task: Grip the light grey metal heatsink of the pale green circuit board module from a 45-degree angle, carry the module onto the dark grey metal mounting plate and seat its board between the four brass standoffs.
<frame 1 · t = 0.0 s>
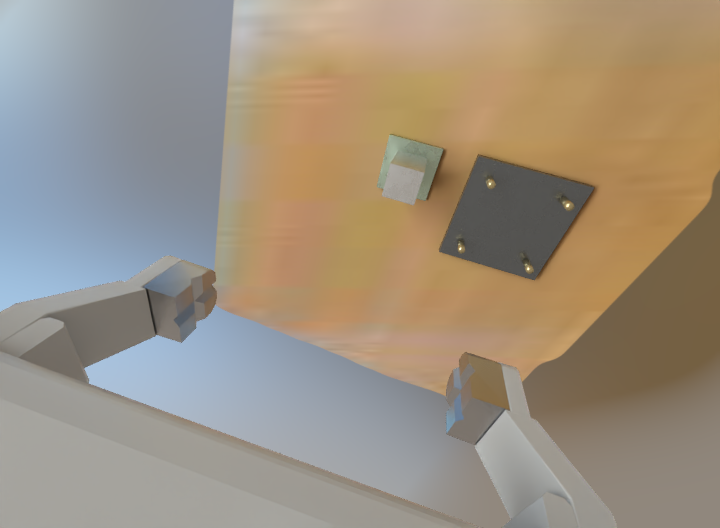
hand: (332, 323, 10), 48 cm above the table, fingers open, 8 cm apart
board module: (408, 167, 54), on the table
mounting plate: (507, 220, 55), on the table
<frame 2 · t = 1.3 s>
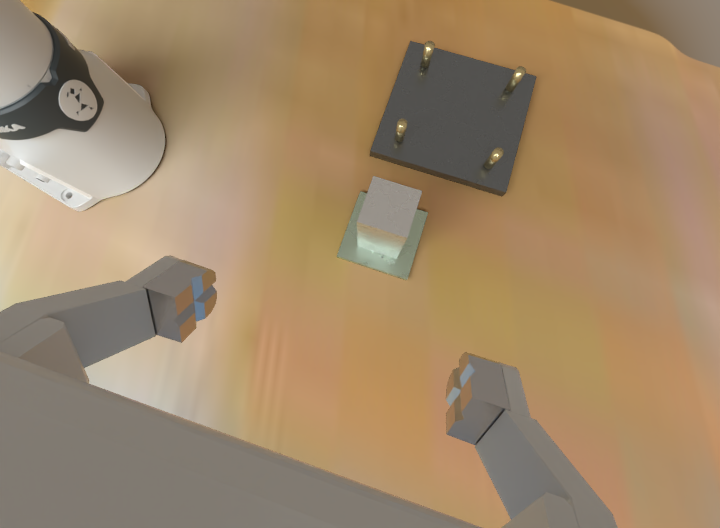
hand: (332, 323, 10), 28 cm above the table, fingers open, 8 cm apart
board module: (382, 235, 40), on the table
mounting plate: (453, 118, 43), on the table
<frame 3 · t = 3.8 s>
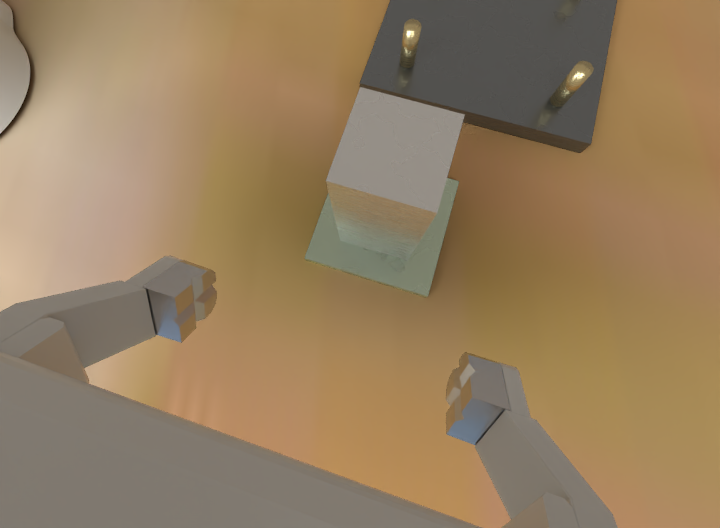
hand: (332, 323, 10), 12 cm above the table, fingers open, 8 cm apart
board module: (383, 222, 24), on the table
mounting plate: (491, 34, 27), on the table
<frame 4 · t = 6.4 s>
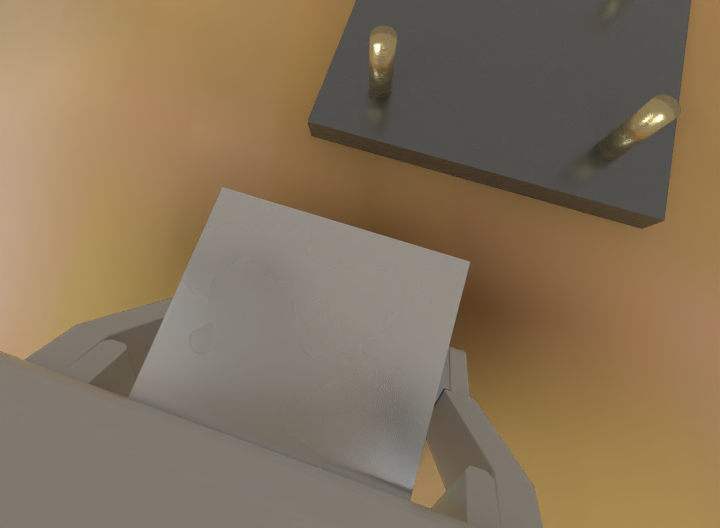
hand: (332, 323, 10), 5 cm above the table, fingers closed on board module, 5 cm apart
board module: (339, 340, 15), on the table, touching gripper
mounting plate: (505, 46, 19), on the table
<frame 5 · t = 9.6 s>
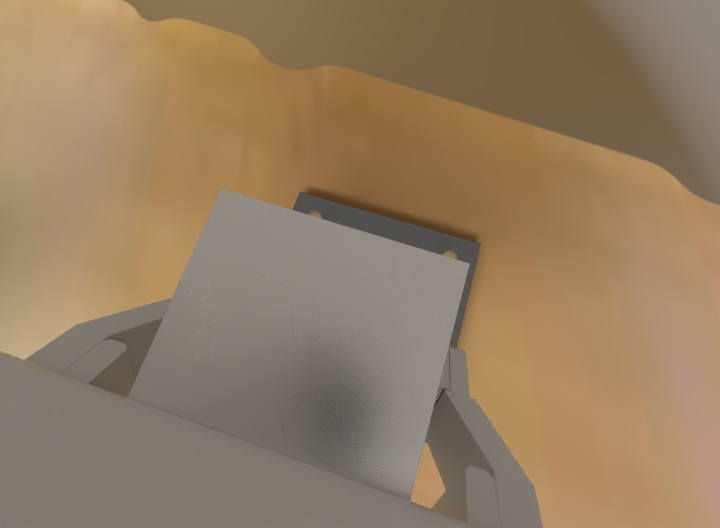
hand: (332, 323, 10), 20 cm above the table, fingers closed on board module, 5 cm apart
board module: (339, 341, 15), point 14 cm above the table, touching gripper
mounting plate: (360, 308, 30), on the table
when the fingers open (8 cm above the table, at t = 13.2 s): board module stays where it is, resting on mounting plate.
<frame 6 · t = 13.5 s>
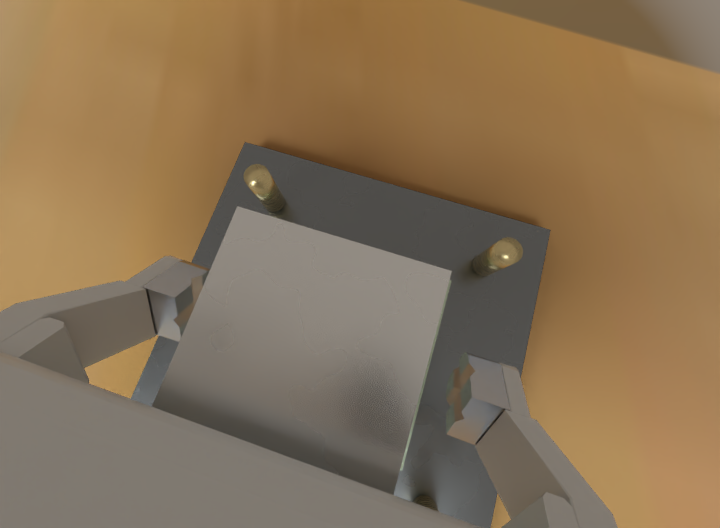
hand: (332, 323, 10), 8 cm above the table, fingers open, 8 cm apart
board module: (339, 339, 16), point 1 cm above the table, touching mounting plate
mounting plate: (342, 339, 17), on the table
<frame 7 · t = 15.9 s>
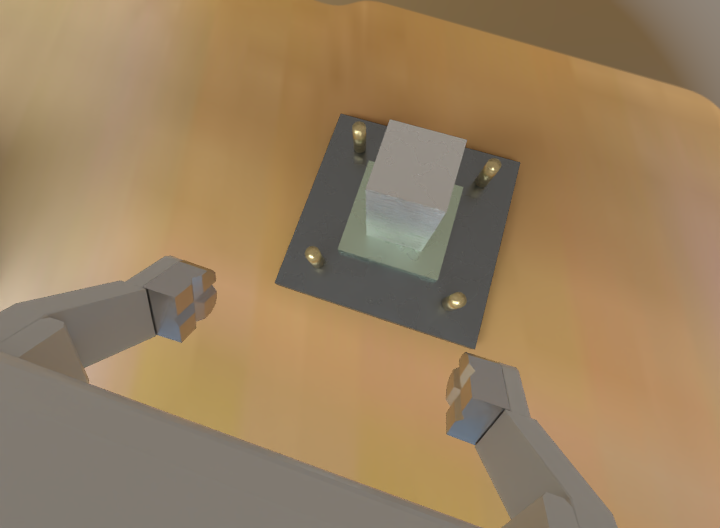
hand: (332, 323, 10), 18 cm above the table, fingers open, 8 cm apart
board module: (400, 220, 29), point 1 cm above the table, touching mounting plate
mounting plate: (400, 225, 30), on the table
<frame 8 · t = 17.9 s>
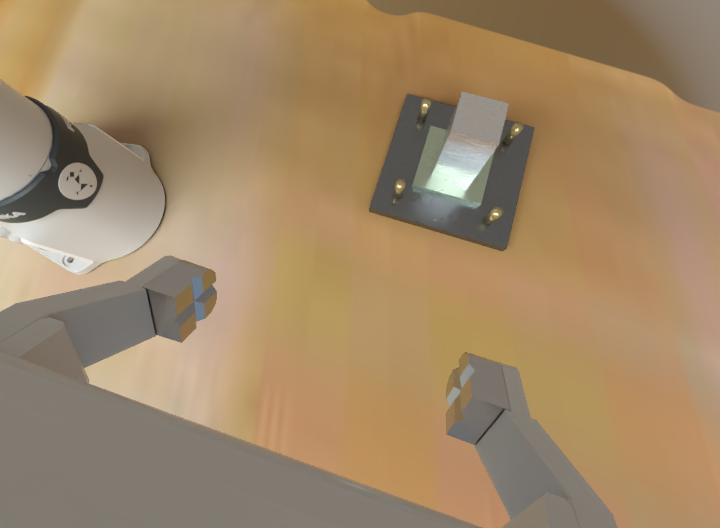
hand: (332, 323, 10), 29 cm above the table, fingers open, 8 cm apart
board module: (453, 166, 42), point 1 cm above the table, touching mounting plate
mounting plate: (451, 171, 43), on the table
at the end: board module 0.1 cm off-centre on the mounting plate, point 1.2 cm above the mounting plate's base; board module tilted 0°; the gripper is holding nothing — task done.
